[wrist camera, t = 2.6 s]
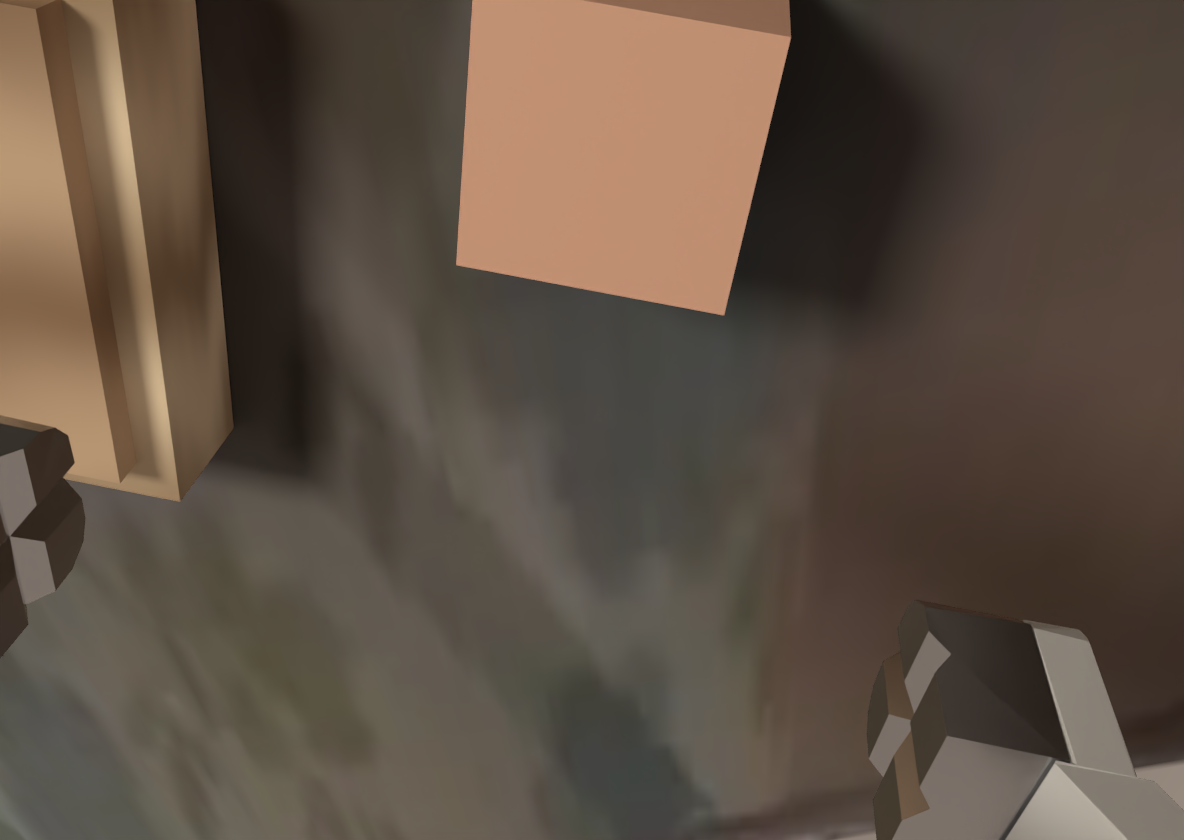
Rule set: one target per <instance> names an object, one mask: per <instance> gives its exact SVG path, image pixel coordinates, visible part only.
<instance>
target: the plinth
mask: <svg viewBox="0 0 1184 840" xmlns="http://www.w3.org/2000/svg"><path fill="white" fill-rule="evenodd" d="M0 415H2V416H6V417H11V418H15V419H20V420H24V421H29V422H33V423H38V424H42V425H47V426H51V427H55V428H57V429H58V430H60V431H62V432H64V433H65V434H67V435H68V437H69V441H70V445H71V449H72V453H73V457H74V461H75V463H74V465H73V466H72V467H71V468H70V470H69V471H68V472H67V473H66V474H65V476H64V477H63V478H64V479H68V480H73V481H78V482H83V483H88V484H93V485H98V486H103V487H108V488H113V489H118V490H123V491H128V492H133V493H138V494H143V495H149V496H154V497H159V498H164V499H169V500H174V501H179V502H180V501H181V500H182V499H183V497H184V496H185V494H186V493H187V492H188V490H189V489H190V488H191V486H192V485H193V483H194V482H195V481H196V479H197V478H198V477H199V475H200V474H201V472H202V471H203V470H204V468H205V467H206V466H207V464H208V463H209V461H210V460H211V459H212V457H213V456H214V454H215V453H216V452H217V450H218V449H219V448H220V446H221V445H222V443H223V442H224V441H225V439H226V438H227V437H228V435H229V434H230V432H231V431H232V430H233V428H234V425H233V414H232V403H231V392H230V380H229V369H228V358H227V347H226V336H225V325H224V314H223V302H222V291H221V280H220V269H219V258H218V247H217V236H216V225H215V213H214V202H213V191H212V180H211V169H210V158H209V147H208V135H207V124H206V113H205V102H204V91H203V80H202V69H201V57H200V46H199V35H198V24H197V13H196V2H195V0H0Z"/></svg>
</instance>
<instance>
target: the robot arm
mask: <svg viewBox="0 0 1184 840" xmlns="http://www.w3.org/2000/svg"><path fill="white" fill-rule="evenodd" d="M74 463H75V461H74V457H73V453H72V449H71V445H70V441H69V437H68V435H67V434H65V433H64V432H62V431H60V430H58V429H57V428H55V427H51V426H47V425H42V424H38V423H33V422H29V421H24V420H20V419H15V418H11V417H6V416H2V415H0V658H1V657H2V656H3V655H4V654H5V652H6V651H7V650H8V649H9V647H10V646H11V645H12V644H13V643H14V641H15V640H16V639H17V638H18V636H19V635H20V634H21V633H22V632H23V630H24V629H25V628H26V627H27V625H28V617H27V607H26V604H28V603H30V602H33V601H35V600H37V599H39V598H41V597H43V596H46V595H48V594H50V593H52V592H54V591H56V590H57V588H58V587H59V586H60V584H61V583H62V582H63V581H64V579H65V578H66V577H67V575H68V574H69V573H70V571H71V570H72V569H73V566H74V564H75V561H76V559H77V556H78V554H79V551H80V549H81V546H82V543H83V540H84V528H85V514H84V508H83V502H82V498H81V497H80V496H79V495H78V494H77V493H76V492H75V490H74V489H73V488H72V487H71V486H70V485H69V484H68V483H67V481H66V480H65V479H64V478H63V477H64V476H65V474H66V473H67V472H68V471H69V470H70V468H71V467H72V466H73V465H74ZM898 636H899V644H900V652H899V653H897V654H895V655H893V656H891V657H890V658H888V659H886V660H884V661H883V663H882V665H881V668H880V670H879V673H878V675H877V678H876V680H875V683H874V685H873V690H872V695H871V700H870V705H869V710H868V722H867V742H868V755H869V759H870V761H871V762H872V763H873V765H874V766H875V767H876V768H877V770H878V771H879V772H880V774H881V775H882V776H883V779H882V781H881V783H880V785H879V788H878V790H877V792H876V794H875V796H874V798H873V808H874V818H875V828H876V838H877V840H1184V810H1183V809H1182V808H1181V807H1180V806H1179V805H1178V804H1177V803H1175V801H1173V800H1172V798H1171V797H1170V796H1169V795H1168V794H1166V792H1164V790H1162V789H1161V788H1160V787H1159V786H1158V785H1157V784H1156V783H1155V782H1154V781H1150V780H1145V779H1141V778H1137V776H1136V773H1135V770H1134V767H1133V764H1132V761H1131V759H1130V756H1129V753H1128V750H1127V747H1126V745H1125V742H1124V739H1123V736H1122V733H1121V730H1120V728H1119V725H1118V722H1117V719H1116V716H1115V713H1114V711H1113V708H1112V705H1111V702H1110V699H1109V696H1108V694H1107V691H1106V688H1105V685H1104V682H1103V679H1102V677H1101V674H1100V671H1099V668H1098V665H1097V663H1096V660H1095V657H1094V654H1093V651H1092V648H1091V646H1090V643H1089V640H1088V638H1087V637H1086V636H1085V635H1084V634H1083V633H1082V632H1081V631H1080V630H1079V629H1073V628H1068V627H1062V626H1057V625H1051V624H1046V623H1040V622H1035V621H1029V620H1023V621H1021V620H1018V619H1014V618H1009V617H1003V616H998V615H993V614H988V613H983V612H977V611H972V610H967V609H962V608H957V607H952V606H946V605H941V604H936V603H931V602H926V601H920V600H914V601H913V602H912V604H911V605H910V606H909V607H908V608H907V609H906V611H905V613H904V616H903V618H902V620H901V622H900V624H899V626H898Z"/></svg>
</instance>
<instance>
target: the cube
mask: <svg viewBox="0 0 1184 840" xmlns="http://www.w3.org/2000/svg"><path fill="white" fill-rule="evenodd" d="M790 40H791V26H790V7H789V0H473V3H472V19H471V35H470V51H469V67H468V84H467V100H466V116H465V132H464V148H463V165H462V181H461V197H460V213H459V229H458V246H457V262H456V265H459V266H464V267H469V268H474V269H480V270H485V271H490V272H496V273H501V274H506V275H512V276H517V277H522V278H528V279H533V280H538V281H544V282H549V283H554V284H560V285H565V286H570V287H576V288H581V289H586V290H592V291H597V292H602V293H607V294H613V295H618V296H623V297H629V298H634V299H639V300H645V301H650V302H655V303H661V304H666V305H671V306H677V307H682V308H687V309H693V310H698V311H703V312H709V313H714V314H719V315H724V313H725V309H726V305H727V301H728V297H729V293H730V289H731V284H732V280H733V276H734V272H735V268H736V264H737V260H738V255H739V251H740V247H741V243H742V239H743V235H744V231H745V226H746V222H747V218H748V214H749V210H750V206H751V201H752V197H753V193H754V189H755V185H756V181H757V177H758V172H759V168H760V164H761V160H762V156H763V152H764V148H765V143H766V139H767V135H768V131H769V127H770V123H771V118H772V114H773V110H774V106H775V102H776V98H777V94H778V89H779V85H780V81H781V77H782V73H783V69H784V65H785V60H786V56H787V52H788V48H789V44H790Z"/></svg>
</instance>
